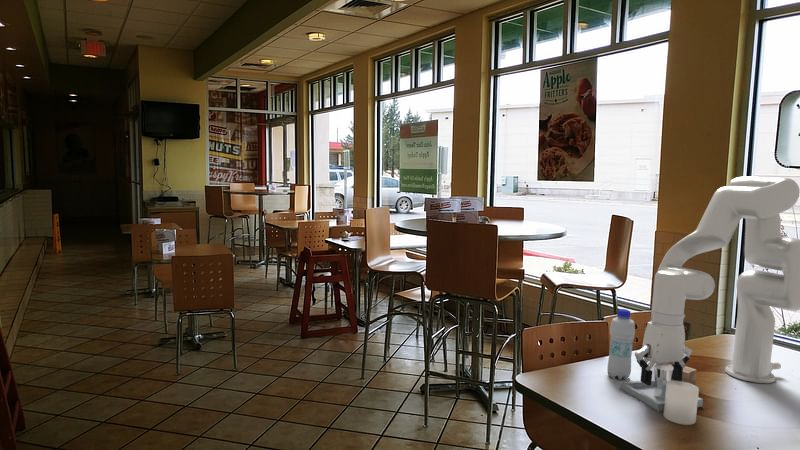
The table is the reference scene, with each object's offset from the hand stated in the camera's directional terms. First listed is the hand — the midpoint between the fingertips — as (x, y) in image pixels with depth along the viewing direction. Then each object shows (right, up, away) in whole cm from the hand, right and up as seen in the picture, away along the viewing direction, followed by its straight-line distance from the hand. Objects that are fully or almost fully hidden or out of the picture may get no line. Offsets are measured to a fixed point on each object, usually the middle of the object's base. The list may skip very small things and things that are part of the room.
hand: (660, 382), depth 146 cm
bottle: (-6, -3, +14) cm, 16 cm away
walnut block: (+10, -4, +10) cm, 15 cm away
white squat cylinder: (-1, -6, -11) cm, 13 cm away
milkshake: (0, -4, +1) cm, 4 cm away
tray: (0, -4, 0) cm, 4 cm away
